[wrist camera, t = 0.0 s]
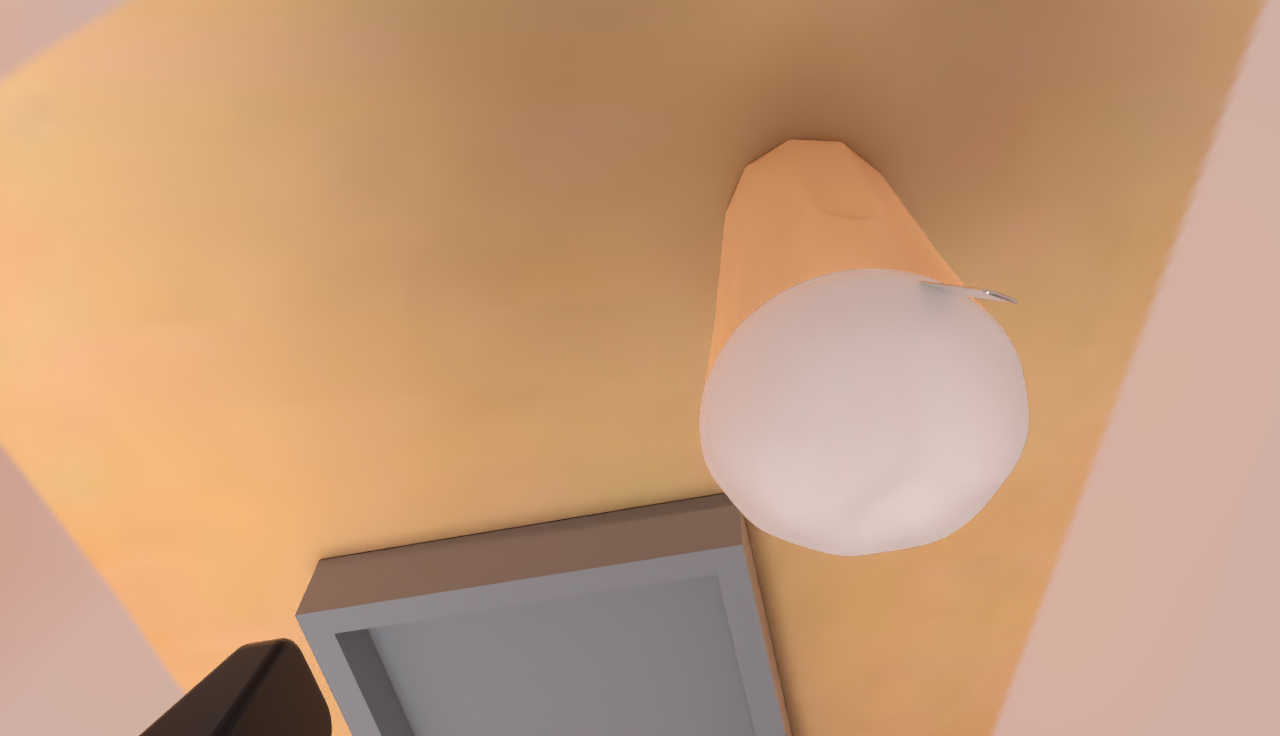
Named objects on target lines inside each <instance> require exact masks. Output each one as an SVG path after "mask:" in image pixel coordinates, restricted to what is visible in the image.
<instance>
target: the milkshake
mask: <svg viewBox="0 0 1280 736" xmlns="http://www.w3.org/2000/svg"><path fill="white" fill-rule="evenodd" d="M976 298H980V299H987V300H993V301H1000V302H1007V303H1018V301H1017V300H1016V299H1014V298H1012V297H1009V296H1006V295H1003V294H1000V293H997V292H995V291H992V290H989V289H984V288H976V287H968V286H965V284H964V283H963V282H962V281H961V280H960V279H959V277H958V276H957V275H956V274H955V273H954V271H953V270H952V269H951V268H950V267H949V266H948V264H947V263H946V262H945V261H944V260H943V258H942V257H941V255H940V254H939V253H938V251H937V250H936V248H935V247H934V246H933V244H932V243H931V242H930V240H929V239H928V237H927V236H926V235H925V233H924V232H923V231H922V229H921V228H920V226H919V225H918V224H917V222H916V221H915V220H914V218H913V217H912V216H911V214H910V213H909V211H908V210H907V209H906V207H905V206H904V205H903V203H902V202H901V201H900V199H899V198H898V196H897V195H896V194H895V192H894V191H893V190H892V188H891V187H890V186H889V184H888V183H887V181H886V180H885V179H884V177H883V176H882V175H881V174H880V173H879V172H878V171H877V170H876V169H874V168H873V167H872V166H871V165H869V164H868V163H867V162H866V161H864V160H863V159H862V158H861V157H860V156H858V155H857V154H856V153H855V152H853V151H852V150H851V149H850V148H849V147H847V146H846V145H845V144H844V143H843V142H840V141H814V140H792V139H789V140H788V141H786V142H784V143H783V144H781V145H780V146H778V147H777V148H775V149H773V150H772V151H770V152H769V153H767V154H765V155H764V156H762V157H760V158H759V159H757V160H756V161H754V162H752V163H751V164H749V165H747V166H746V167H745V169H744V171H743V173H742V176H741V178H740V180H739V183H738V185H737V188H736V190H735V192H734V195H733V197H732V199H731V202H730V204H729V206H728V209H727V211H726V214H725V222H724V232H723V241H722V251H721V261H720V271H719V281H718V292H717V302H716V314H715V323H714V330H713V336H712V342H711V348H710V354H709V360H708V366H707V372H706V378H705V384H704V390H703V395H702V399H701V405H700V415H699V432H700V443H701V449H702V453H703V457H704V460H705V463H706V465H707V468H708V470H709V472H710V473H711V475H712V477H713V478H714V480H715V481H716V483H717V484H718V485H719V486H720V488H721V489H722V490H723V491H724V493H725V494H726V495H727V496H728V498H729V499H730V500H731V501H732V503H733V504H734V505H735V506H736V507H737V508H738V510H739V511H740V512H741V513H742V514H743V515H744V516H745V517H746V518H747V519H748V520H749V521H750V522H751V523H752V524H754V525H755V526H756V527H758V528H759V529H761V530H762V531H764V532H766V533H768V534H770V535H772V536H775V537H777V538H780V539H782V540H785V541H788V542H791V543H794V544H797V545H800V546H803V547H806V548H809V549H812V550H816V551H819V552H823V553H827V554H832V555H838V556H862V555H870V554H876V553H882V552H888V551H894V550H901V549H907V548H913V547H918V546H922V545H926V544H930V543H933V542H935V541H938V540H940V539H943V538H945V537H947V536H948V535H950V534H952V533H954V532H955V531H957V530H958V529H960V528H961V527H962V526H964V525H965V524H966V523H968V522H969V521H970V520H971V519H972V518H973V517H974V516H975V515H977V514H978V513H979V512H980V511H981V510H982V508H983V507H984V506H985V505H986V504H987V503H988V502H989V500H990V499H991V498H992V497H993V495H994V494H995V493H996V491H997V490H998V489H999V487H1000V486H1001V485H1002V484H1003V482H1004V481H1005V480H1006V479H1007V477H1008V476H1009V475H1010V473H1011V472H1012V470H1013V469H1014V467H1015V465H1016V464H1017V462H1018V460H1019V458H1020V456H1021V453H1022V451H1023V449H1024V446H1025V443H1026V439H1027V434H1028V426H1029V410H1028V398H1027V391H1026V385H1025V380H1024V375H1023V370H1022V366H1021V363H1020V360H1019V357H1018V354H1017V352H1016V350H1015V348H1014V346H1013V344H1012V342H1011V340H1010V338H1009V337H1008V335H1007V334H1006V332H1005V331H1004V329H1003V328H1002V327H1001V326H1000V324H999V323H998V322H997V321H996V320H995V319H994V318H993V317H992V316H991V315H990V314H989V313H988V312H987V311H986V309H985V308H984V307H983V306H982V305H981V304H980V302H979V301H978V300H977V299H976Z"/></svg>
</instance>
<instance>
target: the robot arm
mask: <svg viewBox="0 0 1280 736" xmlns="http://www.w3.org/2000/svg"><path fill="white" fill-rule="evenodd" d="M331 734H332V724H331V716H330V712H329V708H328V706H327V703H326V701H325V699H324V697H323V695H322V693H321V691H320V689H319V687H318V685H317V682H316V680H315V678H314V676H313V674H312V672H311V670H310V668H309V666H308V664H307V662H306V660H305V658H304V656H303V654H302V652H301V650H300V648H299V647H298V645H296V644H295V643H294V642H293V641H292V640H289V639H285V638H281V639H274V640H268V641H261V642H255V643H250V644H246V645H244V646H241V647H240V648H239V649H237V650H236V651H235V652H234V653H233V654H231V655H230V656H229V657H228V658H227V659H226V660H225V661H223V662H222V663H221V664H220V665H219V666H218V667H217V668H216V669H214V670H213V671H212V672H211V673H210V674H209V675H208V676H206V677H205V678H204V679H203V680H202V681H201V682H200V683H198V684H197V685H196V686H195V687H194V688H193V689H192V690H191V691H189V692H188V693H187V694H186V695H185V696H184V697H183V698H182V699H180V700H179V701H178V702H177V703H176V704H175V705H173V706H172V707H171V708H170V709H169V710H168V711H167V712H166V713H164V715H162V716H161V717H160V718H159V719H158V720H156V721H155V722H154V723H153V724H152V725H151V726H150V727H148V728H147V729H146V730H145V731H144V732H143V733H142V734H141V735H139V736H331Z"/></svg>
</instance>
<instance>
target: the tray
mask: <svg viewBox="0 0 1280 736" xmlns="http://www.w3.org/2000/svg"><path fill="white" fill-rule="evenodd" d="M295 616H296V618H297V621H298V623H299V625H300V627H301V629H302V631H303V633H304V635H305V637H306V639H307V641H308V643H309V646H310V648H311V650H312V652H313V654H314V656H315V658H316V660H317V662H318V664H319V666H320V669H321V671H322V673H323V675H324V677H325V679H326V681H327V683H328V685H329V687H330V689H331V692H332V694H333V696H334V698H335V700H336V702H337V704H338V706H339V708H340V710H341V712H342V714H343V717H344V719H345V721H346V723H347V725H348V727H349V729H350V731H351V733H352V735H353V736H793V735H792V730H791V726H790V721H789V717H788V712H787V708H786V703H785V699H784V694H783V690H782V685H781V681H780V676H779V672H778V667H777V663H776V658H775V654H774V649H773V645H772V640H771V636H770V631H769V627H768V622H767V618H766V613H765V609H764V604H763V600H762V595H761V591H760V586H759V582H758V577H757V573H756V568H755V564H754V559H753V555H752V550H751V546H750V541H749V537H748V532H747V528H746V523H745V519H744V515H743V514H742V513H741V512H740V511H739V510H738V508H737V507H736V506H735V505H734V504H733V503H732V501H731V500H730V499H729V498H728V496H727V495H726V494H719V495H713V496H707V497H701V498H695V499H689V500H682V501H676V502H670V503H664V504H658V505H652V506H646V507H640V508H634V509H628V510H622V511H616V512H610V513H604V514H597V515H591V516H585V517H579V518H573V519H567V520H561V521H555V522H549V523H543V524H537V525H531V526H525V527H519V528H512V529H506V530H500V531H494V532H488V533H482V534H476V535H470V536H464V537H458V538H452V539H446V540H440V541H434V542H427V543H421V544H415V545H409V546H403V547H397V548H391V549H385V550H379V551H373V552H367V553H361V554H355V555H349V556H342V557H336V558H330V559H324V560H319V563H318V565H317V567H316V569H315V572H314V574H313V576H312V578H311V581H310V583H309V585H308V587H307V590H306V592H305V594H304V596H303V599H302V601H301V603H300V605H299V608H298V610H297V612H296V614H295Z"/></svg>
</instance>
